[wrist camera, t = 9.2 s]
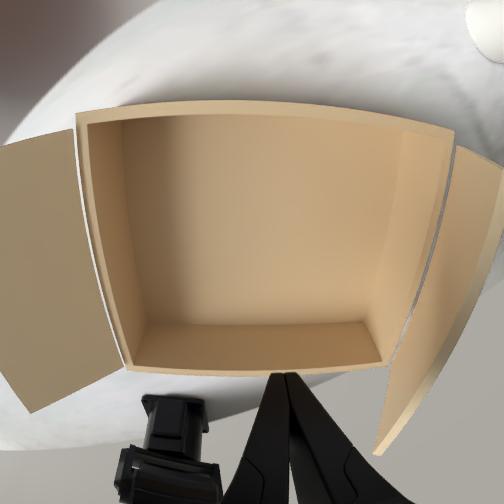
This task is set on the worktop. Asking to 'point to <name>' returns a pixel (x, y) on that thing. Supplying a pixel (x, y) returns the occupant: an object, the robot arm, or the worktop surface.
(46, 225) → the flap
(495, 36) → the drinking glass
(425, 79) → the worktop surface
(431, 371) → the flap
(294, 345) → the carton
